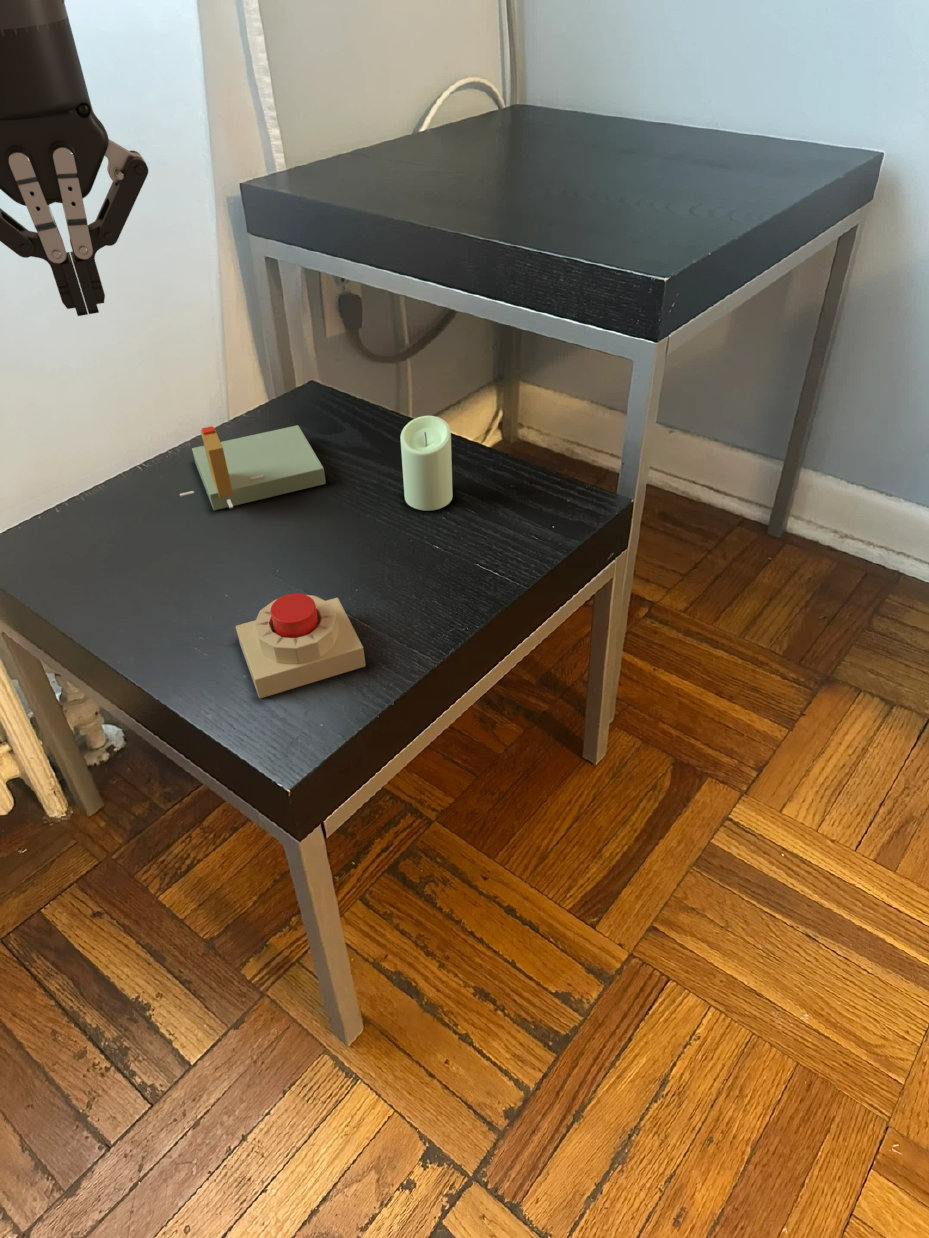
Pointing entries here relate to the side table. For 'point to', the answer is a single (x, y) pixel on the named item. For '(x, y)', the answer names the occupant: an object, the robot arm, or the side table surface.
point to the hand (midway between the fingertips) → (87, 310)
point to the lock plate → (262, 467)
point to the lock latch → (216, 462)
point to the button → (294, 615)
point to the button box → (300, 649)
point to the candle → (427, 463)
